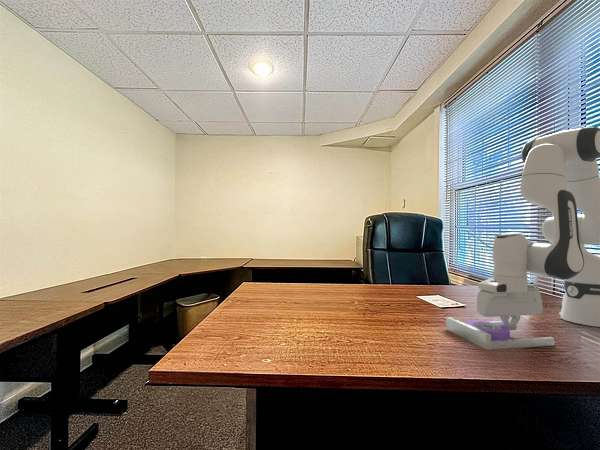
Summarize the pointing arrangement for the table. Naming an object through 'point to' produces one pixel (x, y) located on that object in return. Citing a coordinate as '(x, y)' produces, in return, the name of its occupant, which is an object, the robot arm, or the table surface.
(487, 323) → the masking tape
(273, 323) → the table surface
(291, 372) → the table surface
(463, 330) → the guide channel
